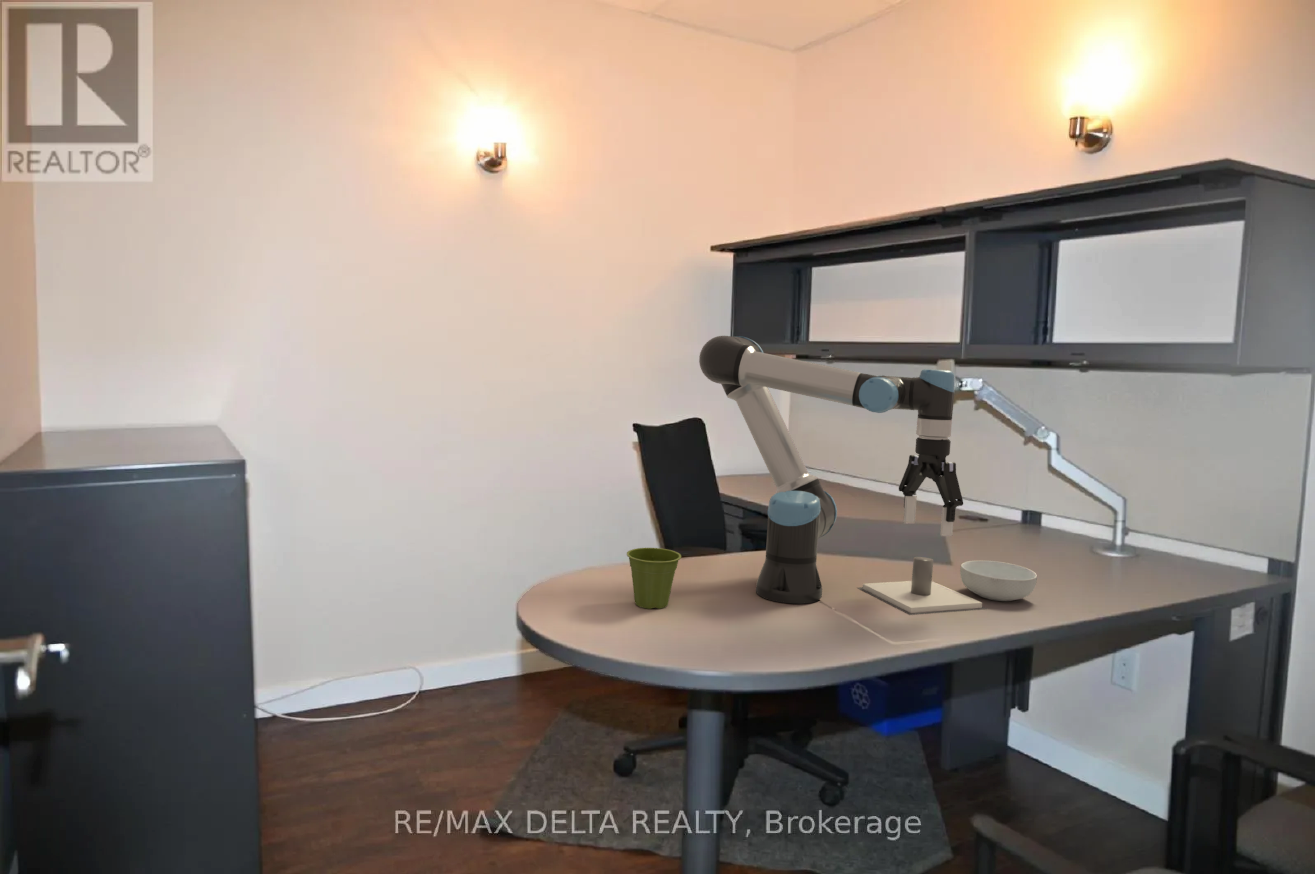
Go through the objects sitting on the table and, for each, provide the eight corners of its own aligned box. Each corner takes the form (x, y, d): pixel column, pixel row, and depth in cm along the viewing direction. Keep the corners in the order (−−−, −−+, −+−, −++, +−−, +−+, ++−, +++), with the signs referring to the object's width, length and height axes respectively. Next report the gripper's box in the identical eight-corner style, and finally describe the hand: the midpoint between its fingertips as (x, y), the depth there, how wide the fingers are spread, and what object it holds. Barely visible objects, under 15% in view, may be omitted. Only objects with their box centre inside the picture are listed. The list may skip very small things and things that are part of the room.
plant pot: (620, 610, 182) (622, 558, 181) (629, 594, 194) (631, 545, 192) (675, 615, 180) (678, 562, 179) (681, 599, 192) (684, 549, 191)
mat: (909, 616, 186) (909, 614, 186) (856, 589, 206) (856, 587, 206) (988, 611, 194) (988, 608, 193) (929, 585, 213) (929, 583, 213)
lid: (910, 613, 188) (914, 571, 187) (862, 588, 205) (865, 550, 204) (981, 607, 194) (985, 567, 193) (928, 584, 212) (931, 547, 211)
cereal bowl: (945, 595, 205) (948, 566, 204) (976, 584, 217) (979, 556, 216) (1017, 613, 193) (1020, 582, 192) (1045, 600, 205) (1048, 571, 204)
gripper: (984, 443, 185) (977, 540, 187) (913, 431, 209) (908, 517, 211) (955, 443, 183) (948, 541, 185) (887, 431, 206) (881, 518, 208)
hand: (927, 529), depth 198 cm, fingers open, 13 cm apart
